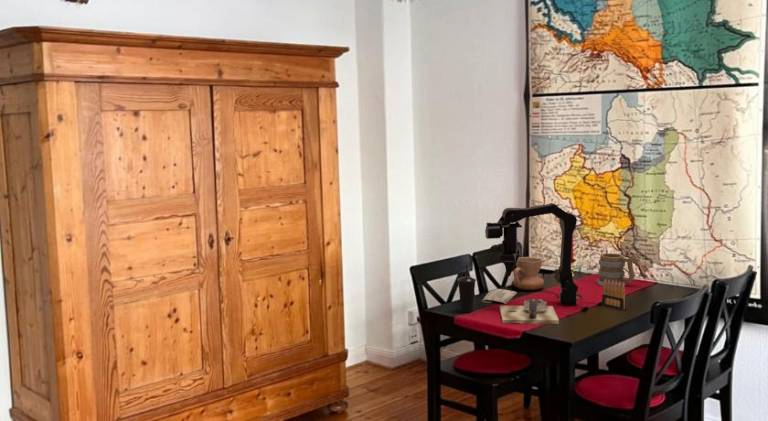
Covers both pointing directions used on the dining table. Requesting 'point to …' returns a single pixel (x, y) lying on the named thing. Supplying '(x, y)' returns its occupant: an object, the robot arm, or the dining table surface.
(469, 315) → the dining table surface
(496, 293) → the newspaper
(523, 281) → the ceramic jug
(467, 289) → the drinking cup
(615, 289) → the ammunition clip
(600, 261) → the tankard
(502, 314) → the birch board
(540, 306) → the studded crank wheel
